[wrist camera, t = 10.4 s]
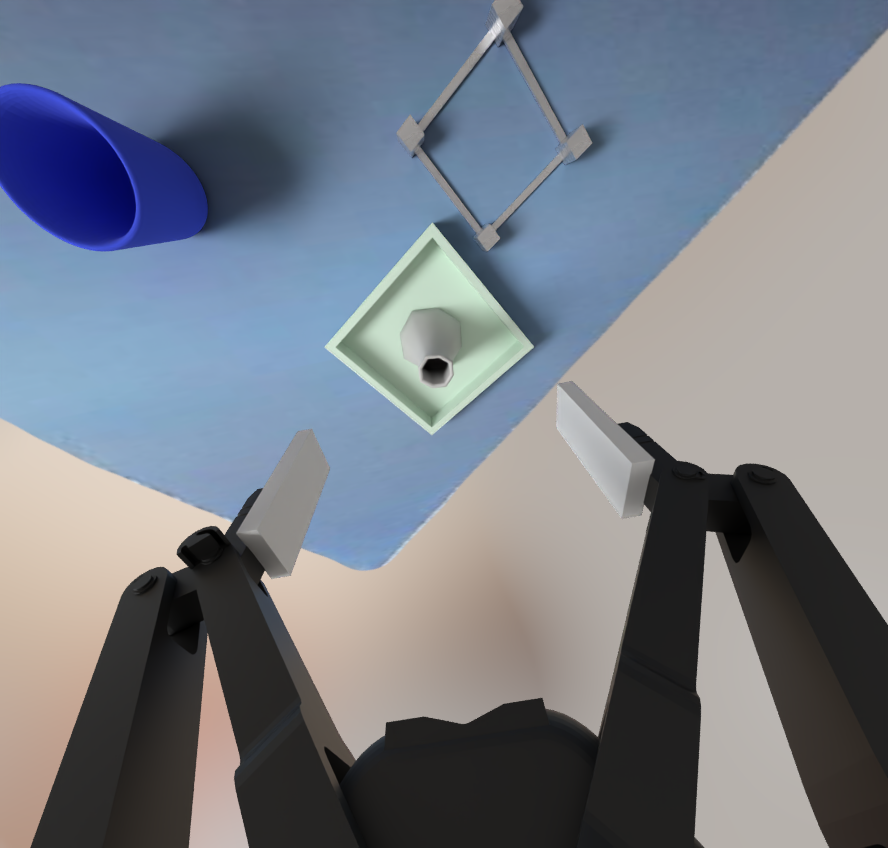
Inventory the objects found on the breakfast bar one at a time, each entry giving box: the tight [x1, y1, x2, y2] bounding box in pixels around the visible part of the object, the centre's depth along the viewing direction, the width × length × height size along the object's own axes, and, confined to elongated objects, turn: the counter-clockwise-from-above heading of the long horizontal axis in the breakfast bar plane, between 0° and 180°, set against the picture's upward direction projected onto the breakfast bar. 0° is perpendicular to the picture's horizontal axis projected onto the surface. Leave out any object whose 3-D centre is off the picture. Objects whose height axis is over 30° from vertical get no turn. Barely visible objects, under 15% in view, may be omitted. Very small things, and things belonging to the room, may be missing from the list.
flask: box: [400, 308, 462, 388], centre depth 32 cm, size 7×7×10 cm
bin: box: [325, 223, 534, 435], centre depth 35 cm, size 16×16×3 cm
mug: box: [0, 83, 208, 251], centre depth 23 cm, size 8×12×10 cm
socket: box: [396, 0, 592, 252], centre depth 27 cm, size 12×12×2 cm
